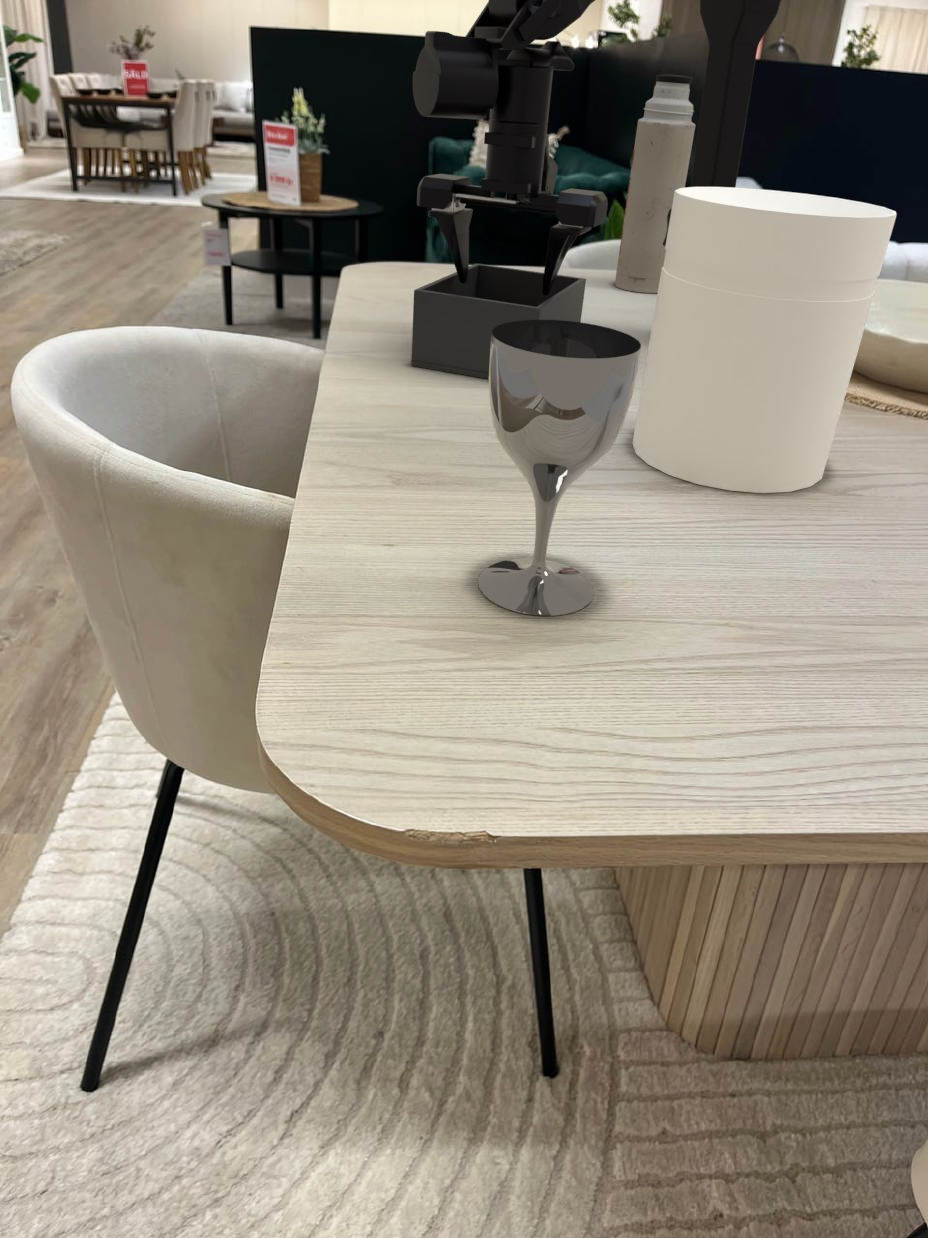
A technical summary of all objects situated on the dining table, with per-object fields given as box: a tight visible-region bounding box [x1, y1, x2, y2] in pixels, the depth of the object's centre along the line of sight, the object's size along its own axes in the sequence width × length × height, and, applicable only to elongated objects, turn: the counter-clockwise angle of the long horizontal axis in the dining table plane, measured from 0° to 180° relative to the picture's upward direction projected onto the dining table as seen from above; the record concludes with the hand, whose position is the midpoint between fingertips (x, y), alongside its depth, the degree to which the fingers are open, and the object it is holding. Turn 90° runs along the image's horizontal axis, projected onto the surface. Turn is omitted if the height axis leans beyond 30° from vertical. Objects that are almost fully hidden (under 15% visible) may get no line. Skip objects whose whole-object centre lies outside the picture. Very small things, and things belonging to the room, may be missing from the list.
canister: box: [632, 186, 897, 494], centre depth 74 cm, size 16×16×20 cm
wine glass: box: [477, 320, 642, 617], centre depth 53 cm, size 8×8×15 cm
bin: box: [410, 263, 587, 380], centre depth 100 cm, size 18×13×8 cm
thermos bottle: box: [614, 74, 696, 294], centre depth 134 cm, size 8×8×28 cm
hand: (504, 288), depth 98 cm, fingers open, 9 cm apart
